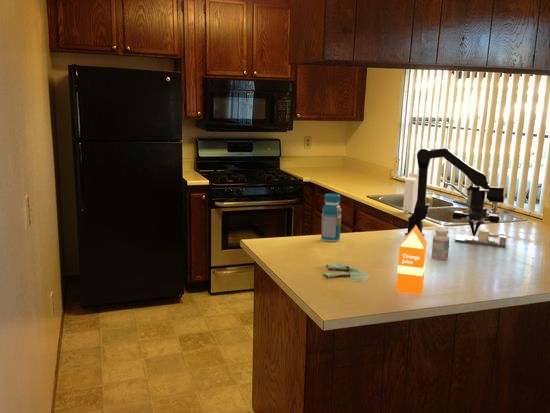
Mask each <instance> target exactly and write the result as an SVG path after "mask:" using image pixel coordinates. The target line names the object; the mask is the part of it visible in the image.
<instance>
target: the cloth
mask: <svg viewBox="0 0 550 413" xmlns="http://www.w3.org/2000/svg"><path fill="white" fill-rule="evenodd" d="M325 267H327V270H328V271H331V270H332V271H344V272H330V273H329V272H325V273H323V274H322V276H325V277H326V278H327V279H332V278H342V277H343V278H345V277H349V281H350V282H352V283H357V282H359V283H366V282H367V281H368V280H370V279H371V275H370V274H369V273H367V272H365V271H363V270H362V269H360V268H358V267H353V266H350V265H347V264H345V263H340V262H339V263H338V262H334V263H333V264H331V265H330V264H326V265H325Z"/></svg>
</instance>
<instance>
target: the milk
mask: <svg viewBox="0 0 550 413" xmlns="http://www.w3.org/2000/svg"><path fill="white" fill-rule="evenodd" d="M418 177H419V174H416V173H411V172H410V173H408V176H407V177H406V178H405V179H404V192H403V193H404V194H403V205H402V206H403V207H402V212H403V211H407V212H411V213H413V212H414V209H415V205H416V202H417V193H418Z"/></svg>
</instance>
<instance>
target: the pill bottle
mask: <svg viewBox="0 0 550 413" xmlns="http://www.w3.org/2000/svg"><path fill="white" fill-rule="evenodd" d="M434 231H435V234H434V235H433V237H432V247H431V257H432V258H433V259H435V260H438V261H439V260H440V261H441V260H443V261H445V260H447V259H448V258H449V251H450V250H449V248H450V237H449V235H448V234H449V230H448V229H447V228H441V227H440V228H436V229H435V230H434Z"/></svg>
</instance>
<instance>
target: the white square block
mask: <svg viewBox="0 0 550 413" xmlns="http://www.w3.org/2000/svg"><path fill="white" fill-rule="evenodd" d="M477 237H478V239H479V240H487V241H489V238H500V234H499V235H498V234H491V233H490V229H489V228H478V236H477Z"/></svg>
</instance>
